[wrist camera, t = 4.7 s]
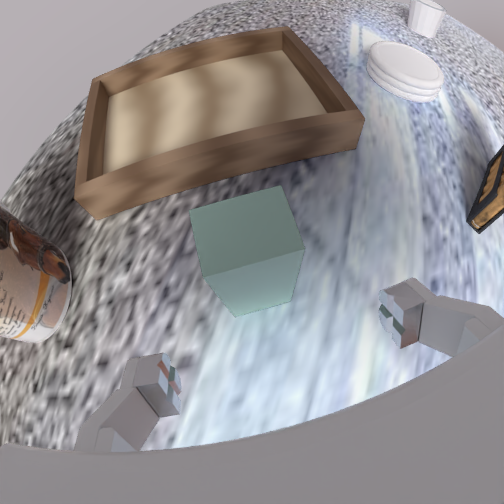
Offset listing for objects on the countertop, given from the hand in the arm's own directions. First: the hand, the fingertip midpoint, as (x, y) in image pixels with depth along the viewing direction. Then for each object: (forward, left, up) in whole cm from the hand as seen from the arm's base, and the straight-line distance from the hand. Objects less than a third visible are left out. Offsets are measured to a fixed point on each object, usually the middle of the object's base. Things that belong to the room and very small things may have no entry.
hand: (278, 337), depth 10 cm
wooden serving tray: (0, +23, -10) cm, 25 cm away
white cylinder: (+42, +40, -10) cm, 59 cm away
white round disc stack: (+25, +24, -10) cm, 36 cm away
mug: (-20, +10, -10) cm, 25 cm away
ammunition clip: (+25, +6, -10) cm, 28 cm away
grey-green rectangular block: (0, +4, -10) cm, 11 cm away
